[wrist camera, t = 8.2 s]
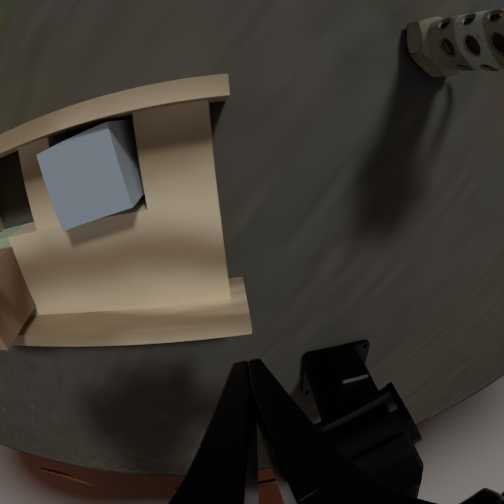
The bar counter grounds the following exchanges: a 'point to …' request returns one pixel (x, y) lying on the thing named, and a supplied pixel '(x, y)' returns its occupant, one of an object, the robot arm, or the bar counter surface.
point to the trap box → (131, 230)
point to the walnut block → (12, 298)
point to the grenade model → (458, 43)
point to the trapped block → (93, 173)
